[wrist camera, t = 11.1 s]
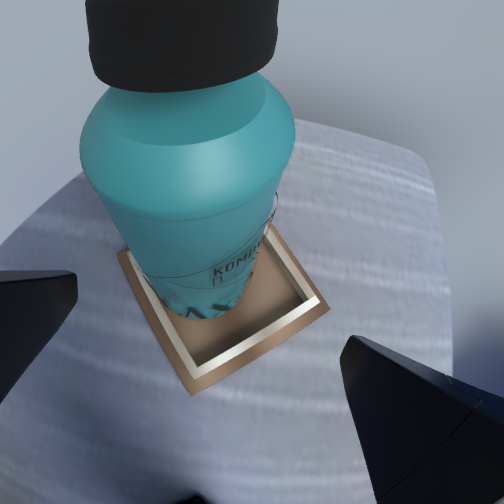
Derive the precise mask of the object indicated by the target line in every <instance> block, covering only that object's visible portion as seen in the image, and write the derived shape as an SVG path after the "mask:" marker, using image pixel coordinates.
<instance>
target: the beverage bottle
mask: <svg viewBox="0 0 504 504" xmlns="http://www.w3.org/2000/svg"><path fill="white" fill-rule="evenodd" d="M278 4H279V0H86V2H85V6H86V15H87V25H88V32H89V54H90V59H91V63H92V66H93V70H94V73H95V75H96V76H97V77H98V79H100V80H101V81H102V82H104V83H106V84H108V85H109V86H110V88H109V89H108V90H107V91H106V92H105V93H104V95H103V96H102V97H101V98H100V100H99V101H98V102H97V103H96V105H95V106H94V108H93V110H92V111H91V113H90V114H89V116H88V118H87V121H86V122H85V125H84V127H83V130H82V133H81V138H80V160H81V164H82V168H83V170H84V173H85V175H86V177H87V179H88V181H89V182H90V184H91V185H92V187H93V188H94V190H95V191H96V192H97V193H98V194H99V196H100V197H101V199H102V201H103V203H104V205H105V207H106V208H107V210H108V212H109V214H110V216H111V218H112V219H113V221H114V223H115V225H116V226H117V228H118V230H119V232H120V233H121V235H122V237H123V238H124V240H125V242H126V243H127V247H129V249H130V252H131V253H132V255H133V257H134V258H135V260H136V262H137V263H138V265H139V266H140V268H141V269H142V271H143V272H142V273H144V274H145V275H146V277H147V278H148V280H149V281H150V284H149V282H148V281H147V279H146V278H145V276H144V275H143V277H144V278H145V280H146V281H147V283H148V284H149V286H150V287H151V288H152V286H153V287H154V288H152V291H154V290H156V292H157V293H158V295H159V296H160V297H161V298H160V297H159V296H158V297H159V298H160V299H161V301H162V302H163V303H164V305H165V307H167V308H168V309H169V308H170V309H171V310H172V311H174V312H175V313H177V314H178V315H180V316H183V318H184V317H186V318H189V319H194V320H196V322H199V321H200V320H206V319H208V320H210V319H212V318H214V320H215V317H217V318H218V316H220V315H221V316H222V314H224V313H225V314H226V312H227V311H229V310H230V309H231V308H233V307H234V305H235V304H236V303H237V302H238V301H239V299H240V298H241V296H242V294H244V293H243V292H244V289H245V287H246V284H247V281H249V280H248V278H250V276H251V277H252V275H253V272H251V269H252V268H253V267H252V266H253V263H254V260H255V257H256V254H259V252H257V251H258V248H259V246H260V244H261V241H262V240H261V239H263V240H264V238H262V236H263V233H264V230H265V227H266V224H267V222H268V221H269V220H270V219H271V218H273V215H274V213H275V211H276V210H275V211H274V213H273V215H272V214H271V215H272V216H271V218H270V219H269V220H268V218H269V215H270V212H271V209H272V205H273V200H274V196H275V193H276V190H277V187H278V184H279V181H280V178H281V175H282V172H283V170H284V169H285V167H286V166H287V163H288V161H289V159H290V157H291V154H292V151H293V147H294V143H295V124H294V118H293V115H292V112H291V109H290V107H289V105H288V104H287V102H286V100H285V99H284V98H283V96H282V95H281V94H280V92H279V91H278V90H277V89H276V88H275V87H274V86H273V85H272V84H271V83H270V82H269V81H268V80H267V79H265V78H264V77H263V76H262V75H261V74H260V73H258V72H257V71H258V70H260V69H261V68H263V67H264V66H265V65H266V64H267V63H268V62H269V61H270V59H272V57H273V54H274V51H275V46H276V41H277V35H278V27H277V13H278ZM276 195H277V193H276ZM277 203H278V197H277ZM270 222H271V221H270ZM270 225H271V224H270ZM267 227H269V226H267ZM269 228H270V227H269ZM269 228H268V229H267V231H268V230H269ZM267 231H266V233H265V234H266V235H267V233H268V232H267ZM265 234H264V236H263V237H265V239H266V236H265ZM264 241H265V240H264ZM264 241H263V242H264ZM262 245H263V244H262ZM261 249H262V247H261ZM129 257H130V256H129ZM256 261H257V258H256ZM255 263H256V262H255ZM256 264H257V263H256ZM135 266H136V265H135ZM136 267H137V266H136ZM254 268H255V267H254ZM137 269H138V270H140V269H139V268H137ZM140 271H141V270H140ZM250 272H251V275H250ZM250 280H251V278H250ZM249 283H250V281H249ZM248 286H249V284H248ZM247 288H248V287H247ZM153 289H154V290H153ZM246 290H247V289H246ZM156 292H154V294H156ZM245 294H246V293H245ZM156 295H157V294H156ZM159 298H158V299H159ZM241 300H242V299H241ZM235 307H236V306H235ZM167 308H166V309H167ZM170 309H169V310H170ZM231 310H232V309H231ZM231 310H230V311H231ZM227 313H228V312H227ZM180 316H179V317H180ZM224 316H225V315H224ZM222 317H223V316H222ZM183 318H182V319H183ZM186 318H185V320H186ZM189 321H190V320H189ZM210 321H211V320H210ZM201 322H205V321H201Z"/></svg>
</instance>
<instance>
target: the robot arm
mask: <svg viewBox="0 0 504 504" xmlns="http://www.w3.org/2000/svg"><path fill="white" fill-rule="evenodd" d="M77 299H78V287H77V275H76V274H75V273H73V272H70V271H66V270H49V271H0V404H1V402H2V401H3V399H4V398H5V397H6V395H7V394H8V393H9V391H10V390H11V388H12V387H13V386H14V384H15V383H16V382H17V380H18V379H19V378H20V376H21V375H22V374H23V373H24V371H25V370H26V369H27V367H28V366H29V365H30V364H31V362H32V361H33V360H34V359H35V357H36V356H37V355H38V354H39V352H40V351H41V350H42V349H43V348H44V346H45V345H46V344H47V343H48V342H49V340H50V339H51V338H52V337H53V336H54V334H55V333H56V332H57V331H58V329H59V328H60V326H61V325H62V323H63V322H64V320H65V319H66V317H67V316H68V314H69V313H70V312H71V310H72V309H73V307H74V306H75V304H76V302H77ZM340 366H341V372H342V377H343V383H344V388H345V393H346V397H347V401H348V404H349V407H350V410H351V414H352V417H353V420H354V423H355V427H356V430H357V434H358V437H359V440H360V444H361V447H362V451H363V454H364V458H365V461H366V465H367V469H368V472H369V476H370V480H371V483H372V487H373V491H374V495H375V499H376V501H377V504H504V398H503V397H500V396H498V395H495V394H493V393H490V392H487V391H485V390H482V389H479V388H477V387H474V386H472V385H469V384H467V383H465V382H462V381H460V380H458V379H455V378H453V377H451V376H449V375H445V374H443V373H441V372H439V371H436V370H434V369H432V368H430V367H427V366H425V365H423V364H421V363H419V362H416V361H414V360H412V359H410V358H408V357H406V356H403V355H401V354H399V353H397V352H395V351H393V350H390V349H388V348H386V347H384V346H382V345H380V344H378V343H375V342H373V341H371V340H369V339H367V338H365V337H363V336H357V335H352V336H350V337H349V339H348V341H347V343H346V345H345V347H344V349H343V351H342V353H341V356H340ZM195 499H200V500H201V501H200V502H196V501H195ZM172 504H209V503H208V501H207V500H206V499H205V498H204V497H203V496H202V495H200V494H194V495H192V496H189V497H187V498H184V499H182V500H179V501H177V502H174V503H172Z"/></svg>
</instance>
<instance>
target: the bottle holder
mask: <svg viewBox="0 0 504 504" xmlns="http://www.w3.org/2000/svg"><path fill="white" fill-rule="evenodd" d="M268 220H269V219H268ZM270 224H271V225H270ZM267 226H269V227H270V228H269V227H267ZM268 228H269V230H268V231H267V229H268ZM266 231H267V232H268V233H267V235H266V234H265V233H266ZM264 234H265V236H266V239H265V237H263V236H264ZM263 236H262V238H264V240H265V241H264V240H263V239H261V240H262V241H261V244H260V246H259V248H258V251H257V252H259V254H256V257H255V260H254V263H253V266H252V267H253V268H252V269H251V272H253V275H252V277H251V276H250V278H251V280H250V278H248V280H249V281H250V283H249V281H247V284H246V287H245V289H244V292H243V293H244V294H242V296H241V298H240V299H239V301H238V302H237V303H236V304H235V305H234V307H233V308H231V309H232V310H231V309H230V310H231V311H230V310H229V311H227V312H228V313H227V312H226V314H225V313H224V314H222V316H223V317H222V316H221V315H220V316H218V318H217V317H215V320H214V318H212V319H210V320H211V321H210V320H208V319H206V320H200V321H199V322H196V320H194V319H189V318H186V317H184V318H183V316H180V315H178V314H177V313H175V312H174V311H172V310H171V309H170V308H169V309H170V310H169V309H168V308H167V307H165V305H164V303H163V302H162V301H161V299H160V298H161V297H160V296H159V295H158V293H157V292H156V290H154V289H153V290H154V291H152V288H154V287H153V286H152V288H151V287H150V286H149V284H150V281H149V280H148V278H147V277H146V275H145V274H144V273H142V272H143V271H142V269H141V268H140V266H139V265H138V263H137V262H136V260H135V258H134V257H133V255H132V253H131V252H130V249H129V248H127V249H125V250H124V251H122V252H120V253H118V254H117V256H118V259H119V261H120V263H121V265H122V268H123V270H124V272H125V274H126V277H127V279H128V281H129V283H130V285H131V287H132V289H133V292H134V294H135V296H136V298H137V300H138V302H139V304H140V306H141V308H142V310H143V312H144V314H145V316H146V318H147V320H148V322H149V324H150V326H151V327H152V329H153V331H154V333H155V335H156V337H157V339H158V341H159V342H160V344H161V346H162V348H163V350H164V351H165V353H166V355H167V357H168V358H169V360H170V362H171V364H172V365H173V367H174V369H175V370H176V372H177V374H178V375H179V377H180V379H181V380H182V382H183V384H184V385H185V387H186V389H187V390H188V392H189V393H190V395H191V396H193V395H195V394H196V393H198V392H200V391H202V390H204V389H205V388H207V387H209V386H211V385H213V384H214V383H216V382H218V381H220V380H221V379H223V378H225V377H227V376H228V375H230V374H232V373H233V372H235V371H237V370H238V369H240V368H242V367H243V366H245V365H247V364H248V363H250V362H252V361H253V360H255V359H257V358H258V357H260V356H261V355H263V354H265V353H266V352H268V351H269V350H271V349H272V348H274V347H276V346H277V345H279V344H280V343H282V342H283V341H285V340H286V339H288V338H289V337H291V336H292V335H294V334H295V333H297V332H298V331H300V330H301V329H303V328H304V327H306V326H307V325H309V324H310V323H312V322H313V321H315V320H316V319H318V318H319V317H320V316H322V315H323V314H325V313H326V312H327V311H329V310H330V307H329V306H328V304H327V303H326V301H325V300H324V298H323V297H322V296H321V294H320V293H319V291H318V290H317V288H316V287H315V285H314V284H313V282H312V281H311V279H310V278H309V276H308V275H307V273H306V272H305V271H304V269H303V268H302V266H301V265H300V263H299V262H298V260H297V259H296V257H295V256H294V255H293V253H292V252H291V250H290V249H289V247H288V246H287V245H286V243H285V242H284V240H283V239H282V237H281V236H280V235H279V233H278V232H277V230H276V229H275V227H274V226H273V225H272V223H271V222H270V220H269V221H268V222H267V224H266V227H265V230H264V233H263ZM263 241H264V242H263ZM262 244H263V245H262ZM261 247H262V249H261ZM129 256H130V257H129ZM256 258H257V261H256ZM255 262H256V263H257V264H256V263H255ZM135 265H136V266H137V267H136V266H135ZM254 267H255V268H254ZM137 268H139V269H140V270H141V271H140V270H138V269H137ZM251 272H250V275H251ZM143 275H144V276H145V278H146V279H147V281H148V282H149V284H148V283H147V281H146V280H145V278H144V277H143ZM248 284H249V286H248ZM247 287H248V288H247ZM246 289H247V290H246ZM154 292H156V294H157V295H156V294H154ZM245 293H246V294H245ZM158 296H159V297H160V298H159V297H158ZM158 298H159V299H158ZM241 299H242V300H241ZM235 306H236V307H235ZM166 308H167V309H166ZM224 315H225V316H224ZM179 316H180V317H179ZM182 318H183V319H182ZM185 318H186V320H185ZM189 320H190V321H189ZM201 321H205V322H201Z"/></svg>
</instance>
